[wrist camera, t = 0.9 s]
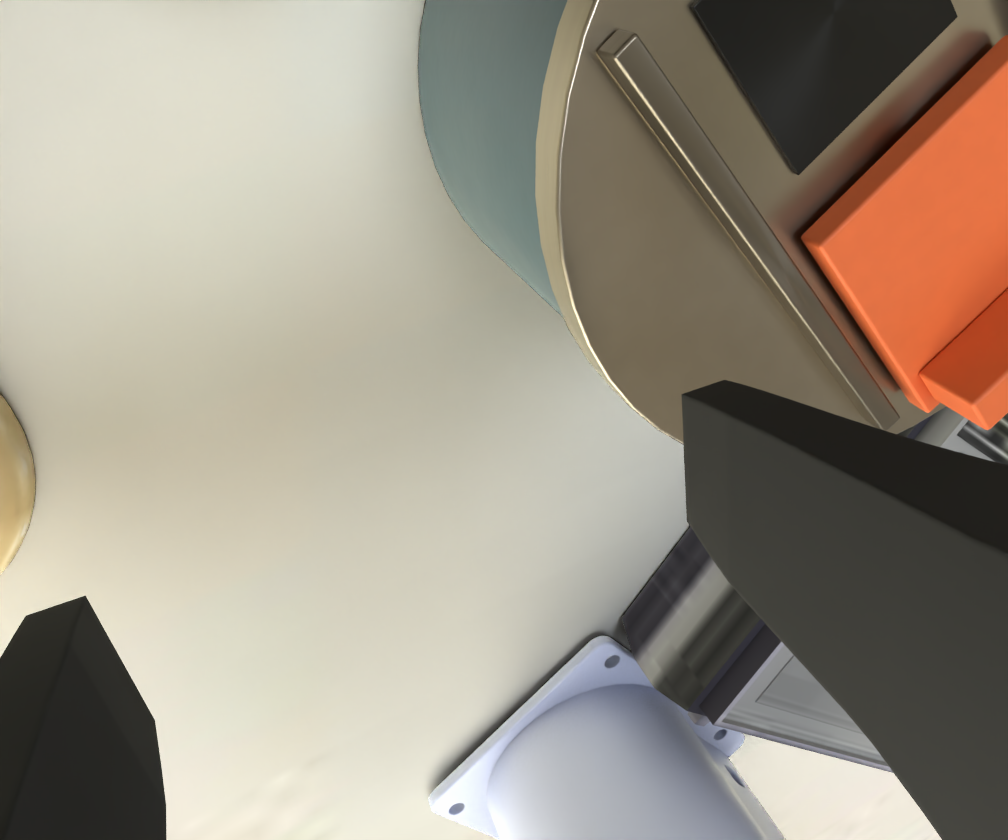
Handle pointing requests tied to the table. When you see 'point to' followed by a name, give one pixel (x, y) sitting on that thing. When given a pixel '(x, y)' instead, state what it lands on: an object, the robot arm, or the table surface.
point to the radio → (758, 636)
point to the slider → (933, 249)
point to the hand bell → (14, 485)
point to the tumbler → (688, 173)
